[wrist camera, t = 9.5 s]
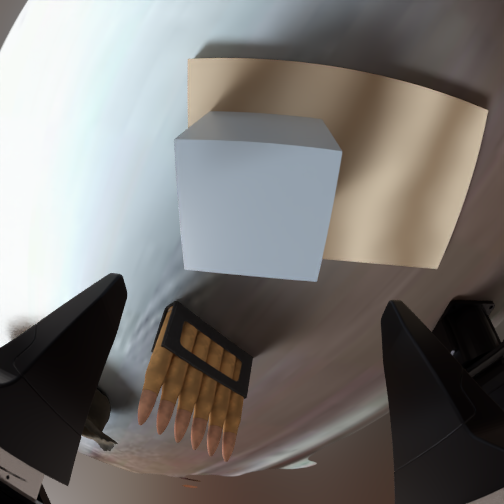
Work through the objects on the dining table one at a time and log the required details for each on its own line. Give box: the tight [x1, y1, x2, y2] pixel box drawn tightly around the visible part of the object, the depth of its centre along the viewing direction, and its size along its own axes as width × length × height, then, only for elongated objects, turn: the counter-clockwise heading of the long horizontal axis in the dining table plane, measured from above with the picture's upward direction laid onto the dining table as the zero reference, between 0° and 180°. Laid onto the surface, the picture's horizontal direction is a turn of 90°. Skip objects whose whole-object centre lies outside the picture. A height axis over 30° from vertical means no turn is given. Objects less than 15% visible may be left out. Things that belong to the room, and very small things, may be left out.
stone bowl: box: [82, 389, 118, 451], centre depth 41 cm, size 25×25×9 cm
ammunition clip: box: [138, 302, 253, 462], centre depth 25 cm, size 11×2×12 cm, turn 41°
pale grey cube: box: [174, 111, 342, 282], centre depth 15 cm, size 6×6×6 cm
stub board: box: [188, 58, 488, 269], centre depth 17 cm, size 19×13×5 cm
